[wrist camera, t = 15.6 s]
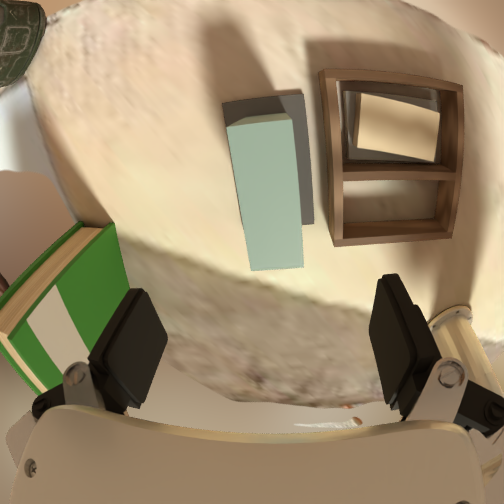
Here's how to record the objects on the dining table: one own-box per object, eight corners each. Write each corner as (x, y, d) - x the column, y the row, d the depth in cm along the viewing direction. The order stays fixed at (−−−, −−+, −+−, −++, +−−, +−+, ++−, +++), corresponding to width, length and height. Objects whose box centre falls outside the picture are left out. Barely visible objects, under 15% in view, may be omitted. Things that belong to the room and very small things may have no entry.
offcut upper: (425, 157, 26) (433, 161, 25) (352, 144, 27) (357, 147, 25) (431, 111, 23) (440, 113, 22) (356, 93, 24) (361, 93, 22)
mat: (313, 222, 34) (314, 224, 34) (244, 227, 35) (243, 229, 35) (303, 94, 26) (303, 94, 25) (223, 103, 27) (222, 103, 27)
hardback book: (79, 221, 37) (-20, 321, 17) (114, 222, 37) (11, 340, 16) (104, 303, 46) (46, 403, 26) (136, 309, 46) (81, 421, 26)
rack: (438, 224, 32) (451, 238, 29) (329, 231, 35) (334, 247, 31) (445, 84, 22) (462, 85, 18) (318, 72, 24) (324, 69, 21)
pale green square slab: (286, 112, 27) (291, 119, 17) (296, 210, 33) (303, 267, 23) (245, 117, 27) (226, 127, 17) (259, 214, 34) (251, 271, 23)
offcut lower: (428, 159, 28) (435, 163, 27) (344, 155, 30) (348, 159, 28) (429, 100, 24) (436, 101, 22) (341, 91, 26) (345, 90, 24)
